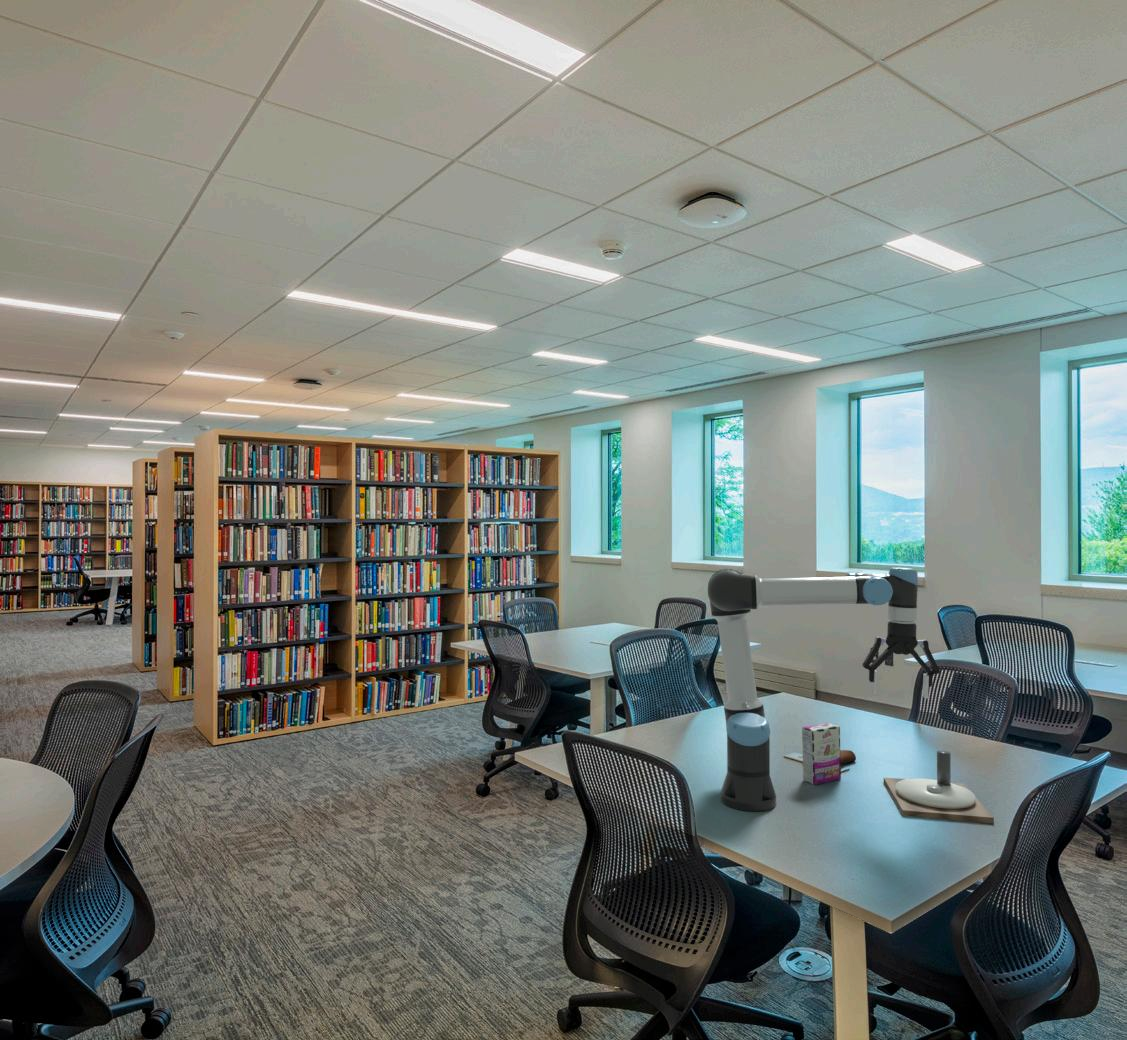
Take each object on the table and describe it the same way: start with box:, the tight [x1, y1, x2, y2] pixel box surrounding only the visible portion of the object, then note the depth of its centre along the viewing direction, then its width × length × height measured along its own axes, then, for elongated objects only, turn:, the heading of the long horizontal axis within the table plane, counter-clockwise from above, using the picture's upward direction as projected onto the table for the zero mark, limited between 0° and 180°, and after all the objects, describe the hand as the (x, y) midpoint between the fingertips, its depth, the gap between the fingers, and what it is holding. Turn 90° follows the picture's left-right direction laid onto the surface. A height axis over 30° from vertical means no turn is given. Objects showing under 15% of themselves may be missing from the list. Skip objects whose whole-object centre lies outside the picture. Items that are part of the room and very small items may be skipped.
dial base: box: [883, 777, 995, 824], centre depth 206 cm, size 22×26×2 cm
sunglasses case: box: [840, 749, 857, 766], centre depth 238 cm, size 18×7×7 cm
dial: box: [896, 750, 976, 809], centre depth 206 cm, size 20×20×10 cm
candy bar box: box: [801, 722, 842, 786], centre depth 223 cm, size 11×5×16 cm, turn 115°
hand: (899, 695), depth 210 cm, fingers open, 13 cm apart
